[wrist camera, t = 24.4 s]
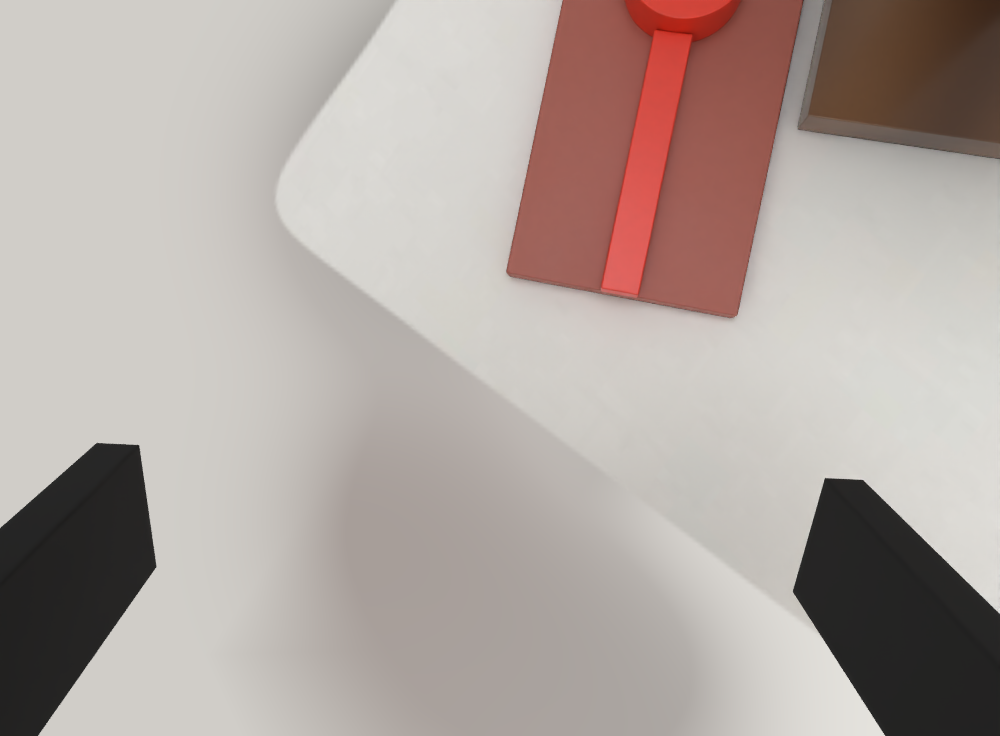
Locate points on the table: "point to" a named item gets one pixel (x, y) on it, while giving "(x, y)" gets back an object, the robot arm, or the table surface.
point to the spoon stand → (908, 74)
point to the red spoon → (655, 127)
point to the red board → (690, 163)
